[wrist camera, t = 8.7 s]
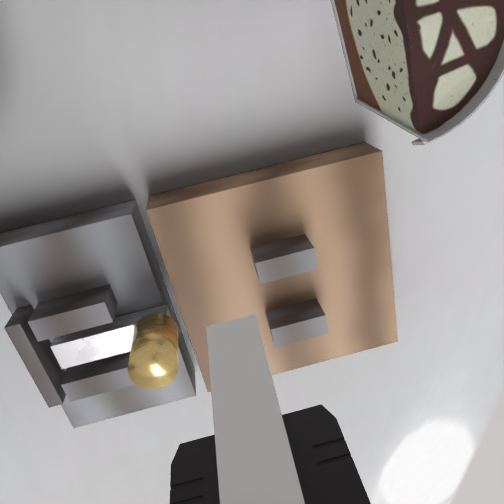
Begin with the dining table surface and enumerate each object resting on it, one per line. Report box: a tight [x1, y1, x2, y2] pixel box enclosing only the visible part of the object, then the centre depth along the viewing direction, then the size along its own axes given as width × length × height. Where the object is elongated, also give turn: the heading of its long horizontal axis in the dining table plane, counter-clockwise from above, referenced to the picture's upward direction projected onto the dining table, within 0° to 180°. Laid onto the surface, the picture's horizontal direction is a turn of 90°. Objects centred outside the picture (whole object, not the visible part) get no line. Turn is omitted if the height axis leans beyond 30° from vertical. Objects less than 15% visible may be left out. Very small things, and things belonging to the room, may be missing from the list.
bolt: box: [50, 304, 178, 389], centre depth 30 cm, size 8×3×6 cm, turn 102°
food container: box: [331, 0, 504, 145], centre depth 25 cm, size 12×6×10 cm, turn 20°
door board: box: [0, 142, 398, 428], centre depth 33 cm, size 27×16×5 cm, turn 102°
